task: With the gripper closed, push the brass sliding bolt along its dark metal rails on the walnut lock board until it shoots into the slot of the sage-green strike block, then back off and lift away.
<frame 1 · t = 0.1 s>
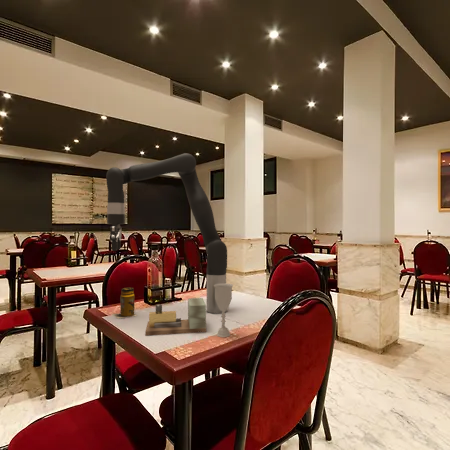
hand: (116, 250, 136), 29 cm above the table, tool pointing down, fingers open, 8 cm apart
door lock: (175, 328, 119), on the table
chalice: (223, 335, 112), on the table
bolt: (162, 314, 118), point 5 cm above the table, slide at 0.0 cm
condiment: (125, 316, 137), on the table
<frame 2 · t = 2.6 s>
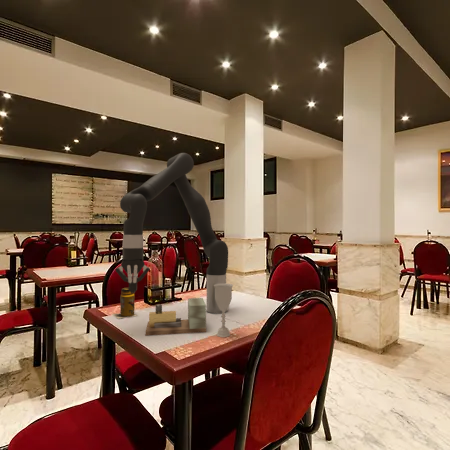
hand: (132, 292, 116), 15 cm above the table, tool pointing down, fingers closed
nothing on the table moved.
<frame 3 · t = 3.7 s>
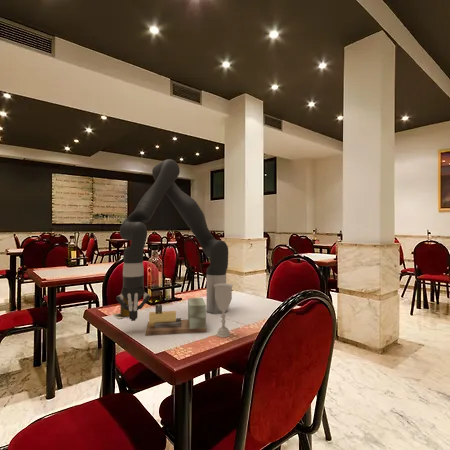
hand: (133, 320, 116), 4 cm above the table, tool pointing down, fingers closed
nothing on the table moved.
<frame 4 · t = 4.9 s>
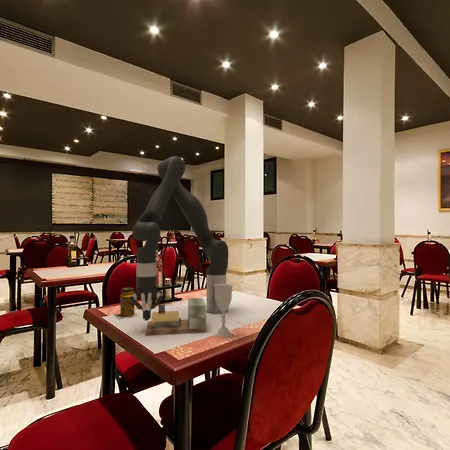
hand: (146, 319, 117), 4 cm above the table, tool pointing down, fingers closed
bolt: (165, 314, 118), point 5 cm above the table, slide at 1.1 cm, touching gripper
everything else where it was.
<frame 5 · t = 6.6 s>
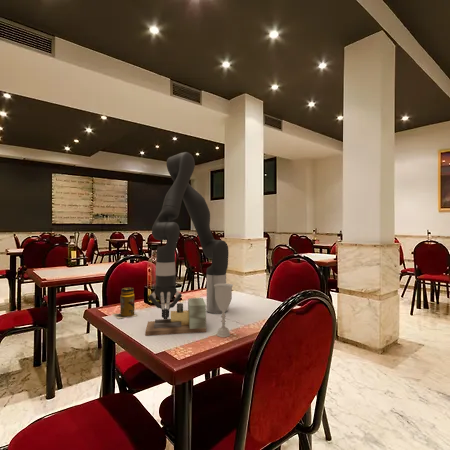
hand: (165, 318, 118), 4 cm above the table, tool pointing down, fingers closed
bolt: (183, 313, 119), point 5 cm above the table, slide at 8.1 cm, touching gripper
everything else where it was.
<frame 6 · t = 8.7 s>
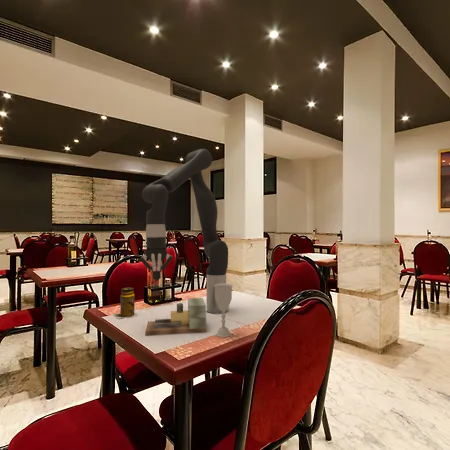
hand: (156, 280, 120), 18 cm above the table, tool pointing down, fingers closed
bolt: (183, 313, 119), point 5 cm above the table, slide at 8.0 cm
everything else where it was.
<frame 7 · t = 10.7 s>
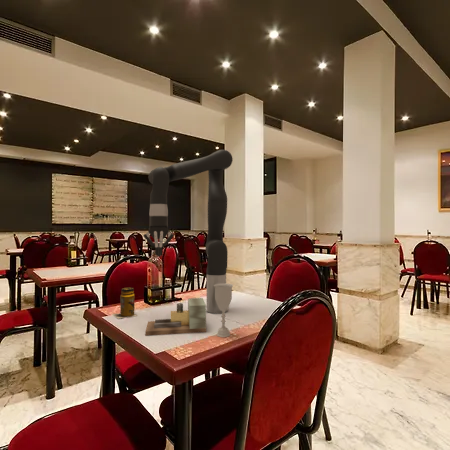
hand: (158, 256, 130), 27 cm above the table, tool pointing down, fingers closed
nothing on the table moved.
at the end: bolt slide at 8.0 cm; chalice moved 0.2 cm from its start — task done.
